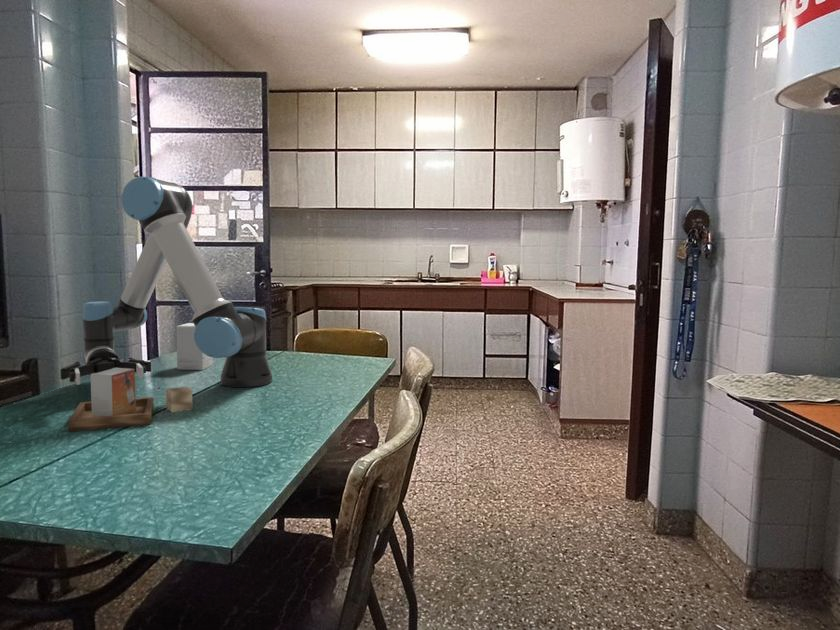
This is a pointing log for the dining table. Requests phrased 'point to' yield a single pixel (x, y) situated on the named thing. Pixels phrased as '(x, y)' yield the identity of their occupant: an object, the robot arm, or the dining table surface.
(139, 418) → the tray
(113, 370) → the small box
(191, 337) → the supplement box
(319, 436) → the dining table surface
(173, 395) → the beech block
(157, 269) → the robot arm
